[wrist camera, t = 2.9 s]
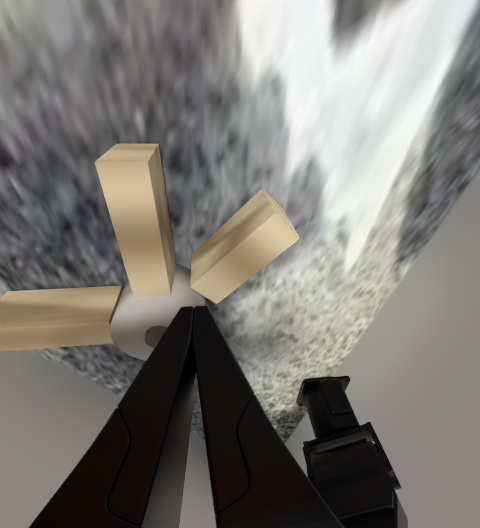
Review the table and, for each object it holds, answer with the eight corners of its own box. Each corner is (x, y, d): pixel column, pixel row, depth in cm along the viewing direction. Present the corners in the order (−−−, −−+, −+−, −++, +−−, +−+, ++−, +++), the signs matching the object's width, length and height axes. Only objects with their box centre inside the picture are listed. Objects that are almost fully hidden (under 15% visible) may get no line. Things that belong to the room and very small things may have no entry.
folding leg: (214, 270, 22) (216, 304, 19) (191, 253, 21) (189, 287, 18) (284, 210, 20) (299, 238, 16) (262, 188, 18) (275, 212, 15)
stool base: (210, 369, 31) (211, 413, 27) (67, 382, 30) (46, 430, 26) (195, 144, 16) (192, 167, 12) (-93, 142, 15) (-203, 169, 11)
